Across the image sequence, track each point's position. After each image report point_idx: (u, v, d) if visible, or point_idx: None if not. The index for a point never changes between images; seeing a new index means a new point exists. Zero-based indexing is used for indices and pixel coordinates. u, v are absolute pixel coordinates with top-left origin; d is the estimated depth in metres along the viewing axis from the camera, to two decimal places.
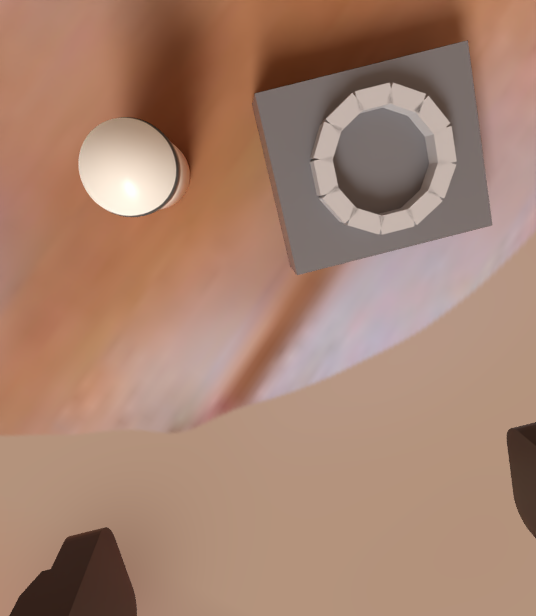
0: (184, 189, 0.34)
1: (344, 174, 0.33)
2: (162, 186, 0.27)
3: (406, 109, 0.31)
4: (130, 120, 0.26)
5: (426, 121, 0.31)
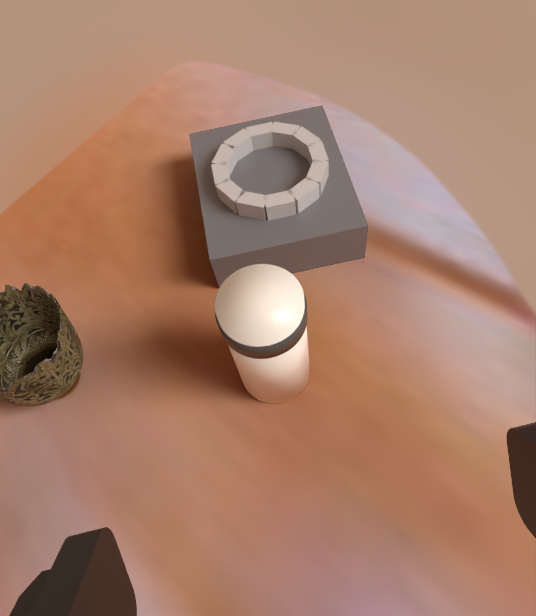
0: None
1: None
2: (277, 273, 0.28)
3: (232, 154, 0.40)
4: (217, 296, 0.28)
5: (241, 141, 0.41)
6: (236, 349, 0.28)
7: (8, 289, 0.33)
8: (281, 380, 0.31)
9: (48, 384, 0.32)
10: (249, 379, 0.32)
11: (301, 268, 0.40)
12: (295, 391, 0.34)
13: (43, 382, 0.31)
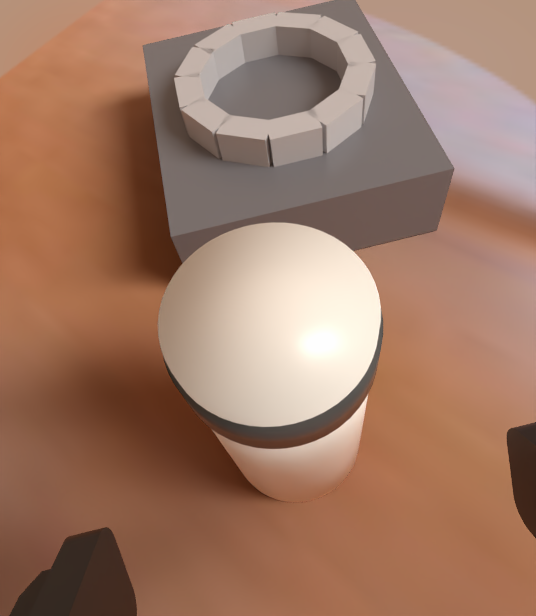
0: None
1: None
2: (308, 243, 0.12)
3: (209, 62, 0.24)
4: (166, 299, 0.12)
5: (224, 42, 0.24)
6: (214, 428, 0.12)
7: None
8: (316, 474, 0.15)
9: None
10: (247, 470, 0.16)
11: None
12: (337, 481, 0.18)
13: None
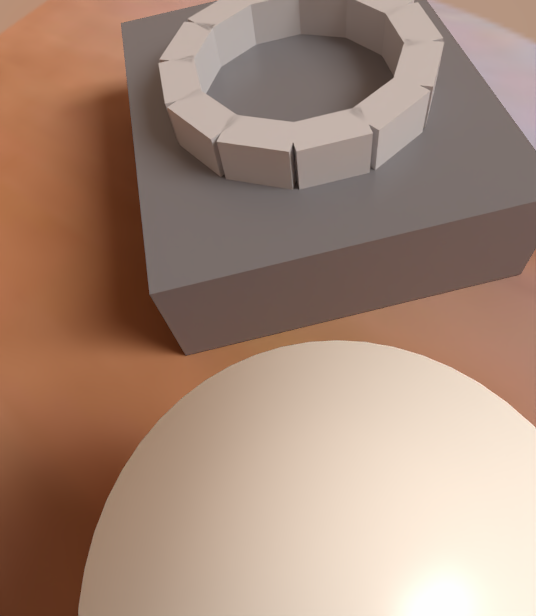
0: None
1: None
2: (423, 397, 0.05)
3: (207, 41, 0.17)
4: (102, 538, 0.05)
5: (228, 15, 0.18)
6: None
7: None
8: None
9: None
10: None
11: (376, 303, 0.17)
12: None
13: None
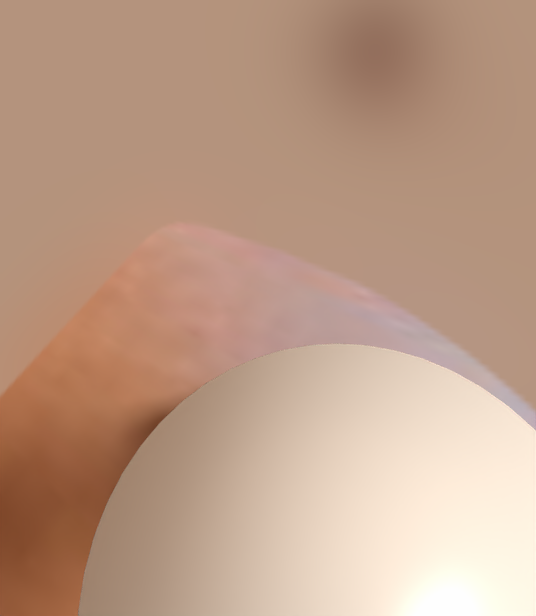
0: None
1: None
2: (424, 400, 0.05)
3: None
4: (102, 542, 0.05)
5: None
6: None
7: None
8: None
9: None
10: None
11: None
12: None
13: None
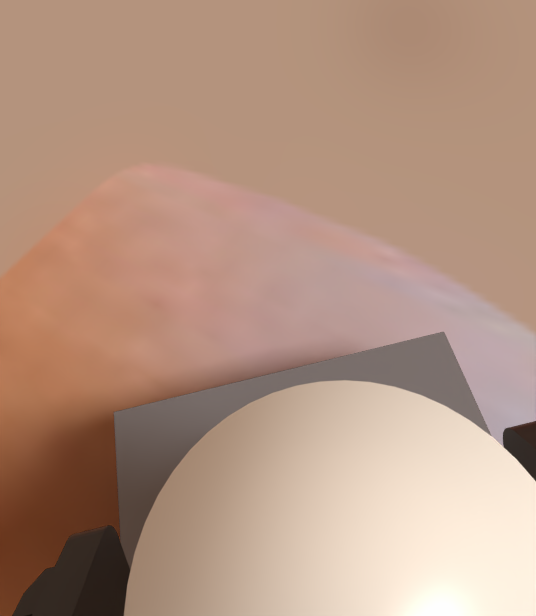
0: None
1: None
2: (421, 432, 0.06)
3: None
4: (142, 557, 0.06)
5: None
6: None
7: None
8: None
9: None
10: None
11: None
12: None
13: None
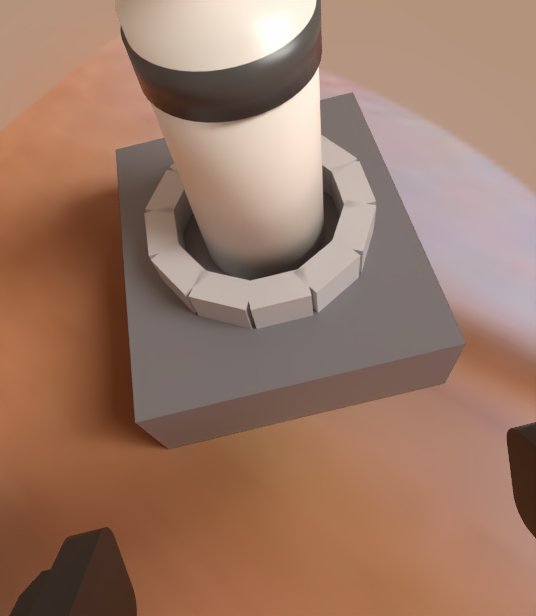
0: None
1: None
2: None
3: None
4: None
5: None
6: (167, 102, 0.13)
7: None
8: (272, 210, 0.16)
9: None
10: (211, 217, 0.17)
11: (324, 409, 0.21)
12: (299, 255, 0.19)
13: None
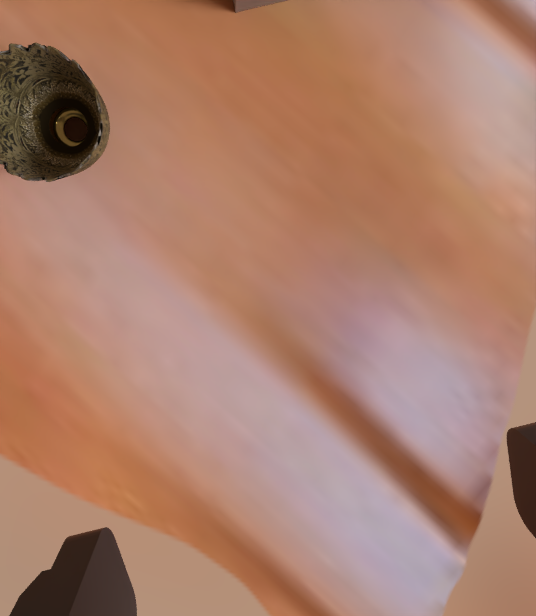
0: None
1: None
2: None
3: None
4: None
5: None
6: None
7: (13, 48, 0.28)
8: None
9: (93, 160, 0.31)
10: None
11: None
12: None
13: (90, 161, 0.31)
